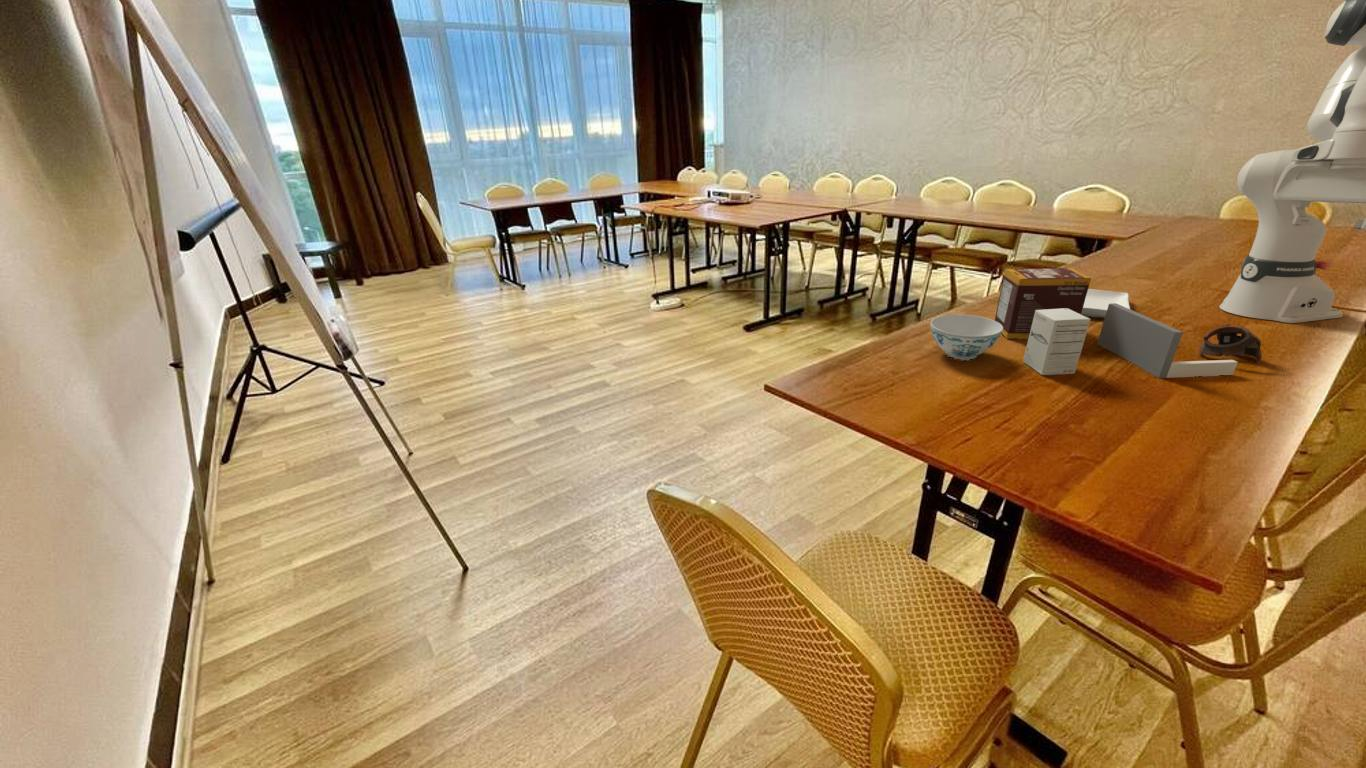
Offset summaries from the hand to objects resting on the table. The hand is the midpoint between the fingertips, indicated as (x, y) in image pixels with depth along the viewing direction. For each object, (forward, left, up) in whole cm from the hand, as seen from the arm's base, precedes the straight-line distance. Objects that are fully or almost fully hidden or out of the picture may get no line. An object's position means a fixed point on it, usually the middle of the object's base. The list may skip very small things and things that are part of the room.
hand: (1329, 227), depth 99 cm
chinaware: (+60, -8, -28) cm, 67 cm away
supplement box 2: (+45, +1, -28) cm, 53 cm away
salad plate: (+15, -39, -28) cm, 51 cm away
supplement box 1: (+37, -21, -28) cm, 51 cm away
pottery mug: (+7, -2, -28) cm, 29 cm away
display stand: (+20, -2, -27) cm, 34 cm away
